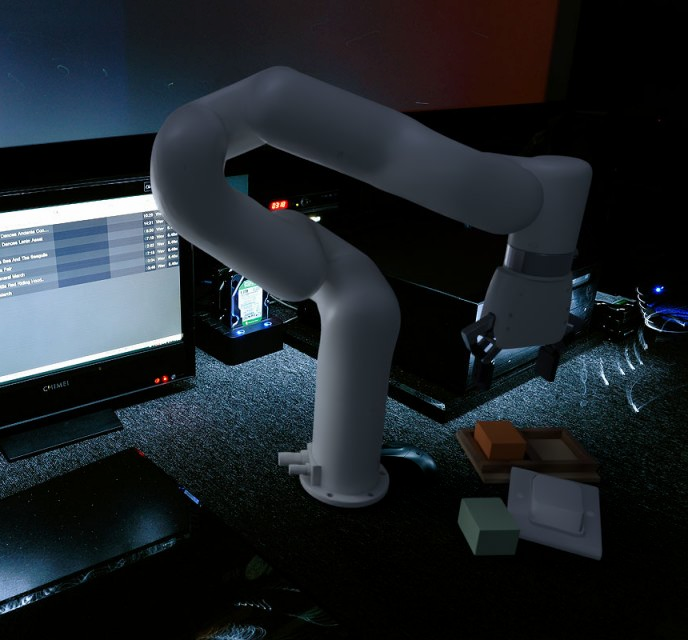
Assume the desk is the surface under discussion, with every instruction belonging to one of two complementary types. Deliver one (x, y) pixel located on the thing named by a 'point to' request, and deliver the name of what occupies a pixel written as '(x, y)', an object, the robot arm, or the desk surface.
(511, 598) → the desk surface
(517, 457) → the orange block
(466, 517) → the green rectangular block
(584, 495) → the light switch
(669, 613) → the desk surface
